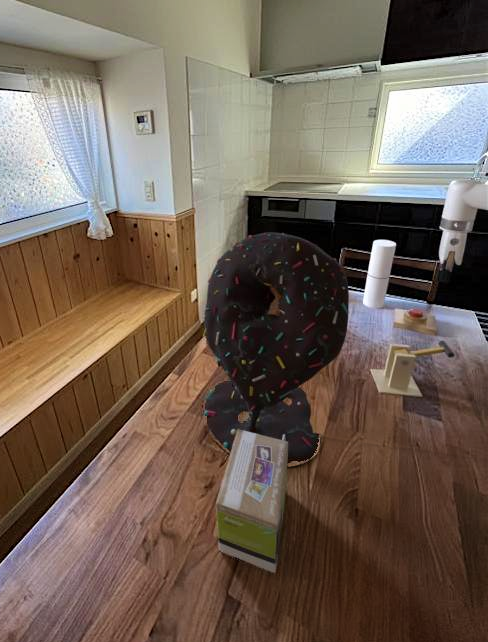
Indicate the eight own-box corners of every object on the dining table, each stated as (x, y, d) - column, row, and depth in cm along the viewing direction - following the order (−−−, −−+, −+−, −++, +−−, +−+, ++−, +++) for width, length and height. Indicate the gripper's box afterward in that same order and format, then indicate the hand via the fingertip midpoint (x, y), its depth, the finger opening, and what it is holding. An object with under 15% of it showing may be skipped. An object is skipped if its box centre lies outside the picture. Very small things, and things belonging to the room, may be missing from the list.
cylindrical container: (365, 307, 128) (376, 246, 117) (360, 298, 134) (371, 239, 124) (385, 309, 126) (398, 246, 116) (380, 299, 132) (392, 239, 122)
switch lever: (445, 346, 86) (444, 338, 86) (455, 358, 82) (454, 350, 81) (393, 354, 90) (391, 347, 90) (399, 366, 86) (398, 359, 85)
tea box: (237, 475, 71) (237, 425, 65) (286, 491, 68) (291, 439, 62) (217, 554, 59) (214, 501, 52) (276, 578, 55) (280, 525, 49)
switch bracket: (408, 375, 94) (417, 341, 89) (421, 399, 86) (432, 363, 82) (369, 372, 97) (376, 338, 92) (378, 395, 89) (387, 359, 84)
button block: (433, 320, 117) (436, 311, 116) (435, 336, 110) (438, 325, 108) (393, 313, 123) (395, 303, 121) (392, 327, 115) (395, 317, 114)
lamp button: (421, 313, 115) (422, 309, 115) (422, 318, 113) (423, 314, 112) (409, 311, 117) (410, 307, 116) (409, 316, 114) (410, 312, 114)
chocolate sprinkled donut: (325, 491, 67) (357, 293, 49) (179, 439, 80) (162, 267, 62) (334, 389, 92) (358, 231, 73) (221, 362, 105) (217, 222, 86)
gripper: (476, 232, 90) (460, 293, 97) (469, 218, 101) (454, 273, 108) (442, 230, 93) (428, 289, 101) (438, 216, 105) (426, 270, 112)
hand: (442, 280), depth 105 cm, fingers closed
